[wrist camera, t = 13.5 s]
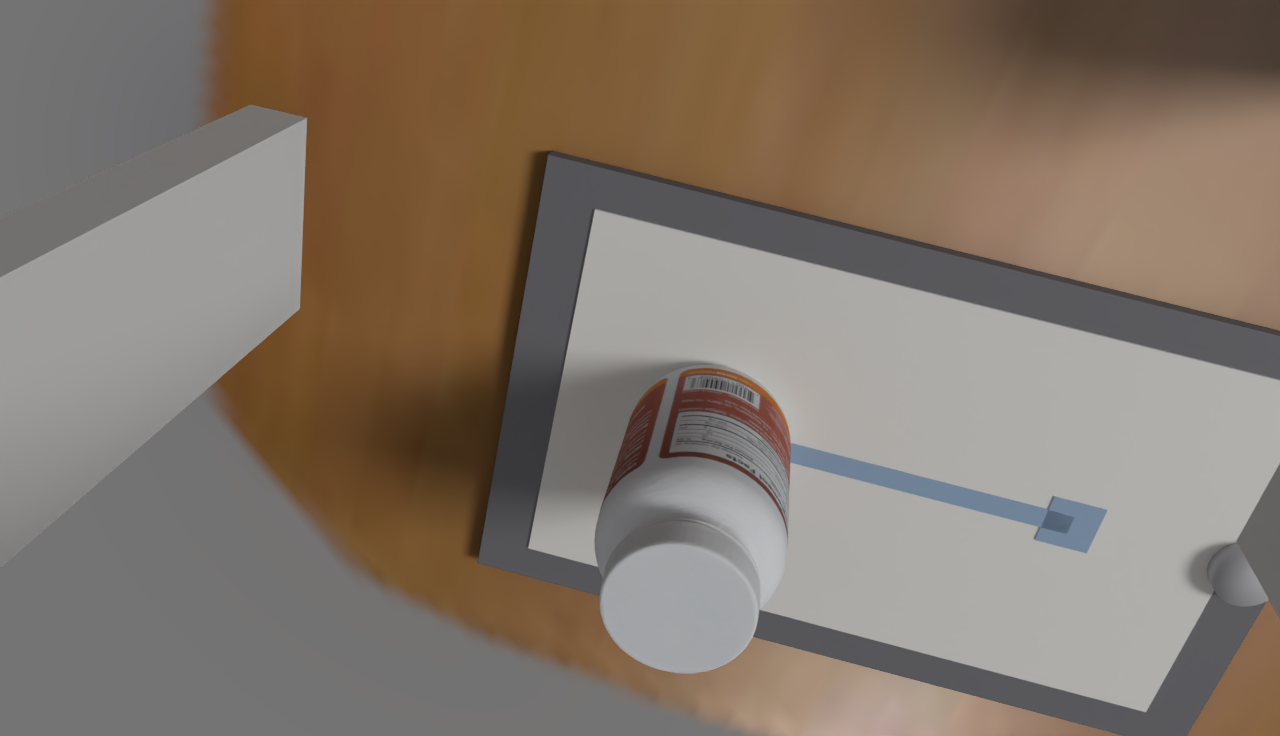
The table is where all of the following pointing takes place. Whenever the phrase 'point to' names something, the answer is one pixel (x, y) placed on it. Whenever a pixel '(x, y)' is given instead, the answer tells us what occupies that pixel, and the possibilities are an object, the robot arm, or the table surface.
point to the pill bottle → (695, 519)
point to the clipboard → (911, 443)
